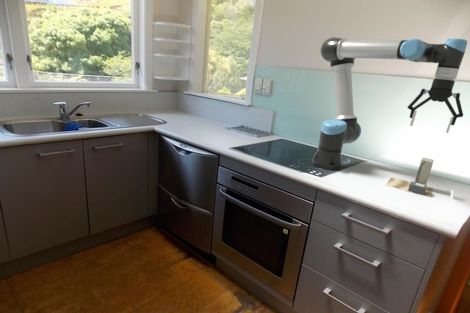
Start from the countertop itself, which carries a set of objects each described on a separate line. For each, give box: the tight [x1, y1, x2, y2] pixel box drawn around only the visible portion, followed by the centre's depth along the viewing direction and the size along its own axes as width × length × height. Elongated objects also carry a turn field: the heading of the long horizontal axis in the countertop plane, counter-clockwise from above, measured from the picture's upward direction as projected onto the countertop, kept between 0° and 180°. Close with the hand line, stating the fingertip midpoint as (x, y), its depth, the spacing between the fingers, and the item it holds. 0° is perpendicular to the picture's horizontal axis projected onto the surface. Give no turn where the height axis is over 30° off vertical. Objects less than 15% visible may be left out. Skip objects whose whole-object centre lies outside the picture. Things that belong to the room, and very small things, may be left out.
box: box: [414, 157, 434, 185], centre depth 127 cm, size 5×4×13 cm
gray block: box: [407, 181, 428, 196], centre depth 123 cm, size 6×5×3 cm
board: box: [385, 176, 434, 198], centre depth 129 cm, size 17×14×1 cm
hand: (428, 128), depth 126 cm, fingers open, 13 cm apart
